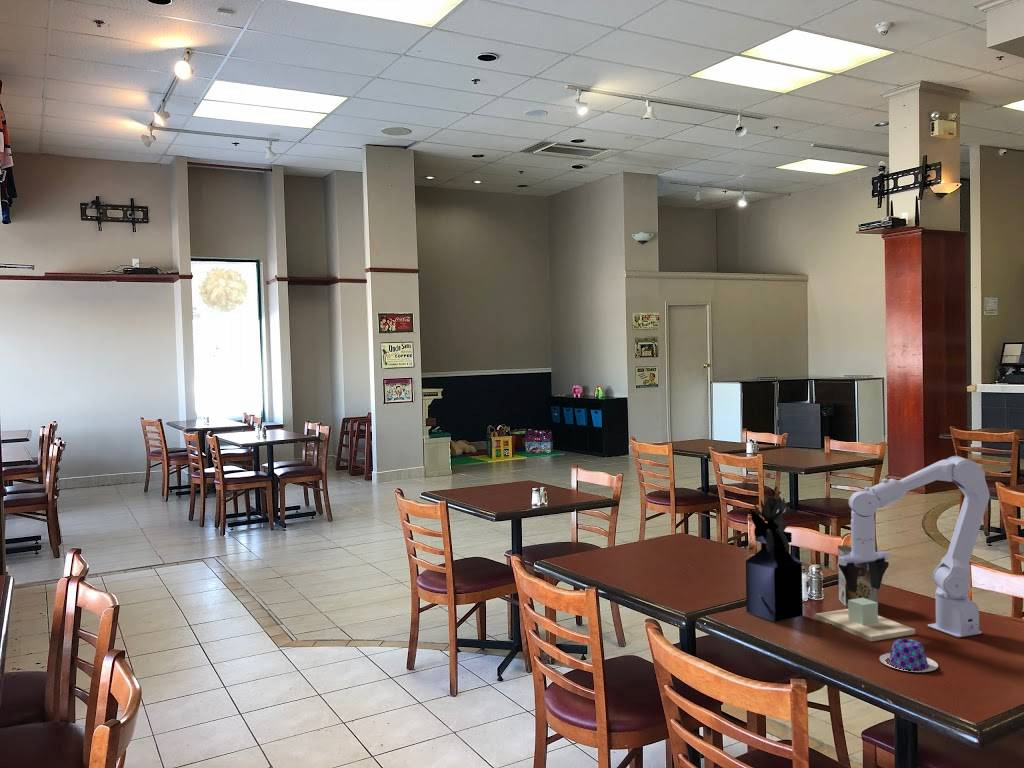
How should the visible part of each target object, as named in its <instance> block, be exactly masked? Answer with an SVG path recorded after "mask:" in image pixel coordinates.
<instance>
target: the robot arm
mask: <svg viewBox="0 0 1024 768" xmlns="http://www.w3.org/2000/svg"><path fill="white" fill-rule="evenodd" d="M985 475H986V473H985V471H984V470H983V469H982V467H981V465H979V464H978V463H977V462H976V461H974V460H971V459H967V458H964V457H962V456H960V455H953V456H950V457H948V458H946V459H945V458H944V459H941V460H938V461H936V462H934V463H932V464H930V465H928V466H925V467H924V468H922V469H920V470H918V471H916V472H915V471H914V473H911V474H909V475H907V476H906V477H904V478H901V479H899V480H898V479H895V478H889V479H888V478H886V477H885V478H883V479H881V482H880V483H878V484H875V485H873V486H870V487H868V486H867V487H864V491H861V490H858V491H855V492H853V493H852V494H851V496H850V497H849V499H848V501H847V503H848V506H849V508H850V509H851V514H850V517H851V520H850V541H851V544H850V545H851V550H852V552H850V554H848V555H845V556H841V557H838V556H837V560H838V559H839V568H840V569H841V571H842V573H843V575H844V577H845V580H846V583H847V587H848V590H849V591H851V592H854V593H855V592H856V591H857V578H858V573H859V570H860V568H859V567H855V565H854V564H855V563H863V562H868V566H869V570H870V577H871V586H872V588H875V589H878V590H880V588H881V584H882V580H883V577H884V574H885V573H886V571H887V569H888V568H889V564H890V563H889V552H886V551H882V550H881V551H877V552H875V550H876V520H875V513H876V512H877V510H878V509H881V508H884V507H886V506H889V505H891V504H893V503H896V502H898V501H900V500H903V499H904V497H905V494H906V493H907V492H909V491H912V490H914V489H916V488H919V487H922V486H925V485H928V484H930V483H933V482H936V481H942V482H953V483H954V484H956V485H957V488H958V489H960V491H961V493H962V494H963V495H964V498H963V501H962V504H961V507H960V511H959V513H958V517H957V521H956V523H955V527H954V530H953V534H952V536H951V540H950V543H949V546H948V549H947V552H946V555H944V556H943V557H942V558H941V561H940V563H939V565H938V566H937V567H936V568H935V569H934V570H933V573H932V579H933V582H934V583H935V584H936V585H937V587H936V589H935V592H934V593H935V594H934V596H935V622H934V623H929V624H927V627H929V628H931V629H934V630H937V631H939V632H942V633H945V634H947V635H950V636H953V637H956V638H963V637H969V636H974V635H975V636H976V635H980V634H982V633H983V632H982V631H981V630H980V609H979V605H978V604H977V603H976V602H975V601H973V600H972V599H970V598H969V597H968V595H969V594H968V593H969V592H970V590H971V581H970V577H971V573H972V572H971V567H970V566H971V565H970V560H971V557H972V554H973V551H974V547H975V545H976V541H977V538H978V535H979V533H980V529H981V526H982V523H983V519H984V517H985V513H986V509H987V506H988V504H989V500H990V498H991V497H990V496H991V495H990V490H989V487H988V484H987V481H986V477H985Z"/></svg>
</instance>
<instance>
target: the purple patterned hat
mask: <svg viewBox="0 0 1024 768" xmlns="http://www.w3.org/2000/svg"><path fill="white" fill-rule="evenodd" d="M887 658H889V661H890V662H889V661H888V662H889V664H890V663H891V664H892V665H894V667H893V666H891V665H889V664H887V662H886V661H885V660H886V659H887ZM879 661H880V662H881V663H882V664H884V665H886V666H888V667H890V668H893V669H897V670H900V671H905V672H909V671H908V670H905V669H910V670H911V671H910V672H913V673H926V672H927V673H928V672H932V671H936V669H938V668H939V664H938V663H937V662H936V661H935V660H933V659H931V658H929V657H927V656H926V652H925V648H924V646H923V644H922V643H921V642H919V641H918V640H916V639H910V638H897V639H896V640H894V641H893V644H892V647H891V651H890V652H887V653H884V654H881V655H880V656H879ZM896 666H898V667H899V668H902V669H899V668H898V667H897V668H895V667H896ZM903 669H904V670H903ZM920 669H921V670H922V671H921V670H920ZM913 670H919V671H913Z"/></svg>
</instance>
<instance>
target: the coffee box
mask: <svg viewBox="0 0 1024 768" xmlns="http://www.w3.org/2000/svg"><path fill="white" fill-rule="evenodd" d="M850 552H852V550H851V544H850V545H848V544H846V545H845V544H844V545H837V560H838V561H837V562H838V563H837V565H838V567H837V569H838V601H839V600H840V603H842V605H843V606H845V607H848V600H851V599H858V598H865V599H868V600H871V601H874V602H877V603H878V604H879V595H878V594H879V591H878V590H879V589H875V588H872V586H871V577H870V570H869V566H868V562H863V563H855V564H854V565H855V567H859V568H860V570H859V573H858V578H857V591H856V592H855V593H854V592H851V591H849V590H848V587H847V583H846V580H845V577H844V575H843V573H842V571H841V569H840V568H839V559H838V557H841V556H845V555H848V554H850ZM875 552H878V551H877V549H875Z"/></svg>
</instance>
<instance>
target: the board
mask: <svg viewBox="0 0 1024 768" xmlns="http://www.w3.org/2000/svg"><path fill="white" fill-rule="evenodd" d="M814 618H815V619H816V620H819V621H820V622H824V623H826V624H828V623H829V624H828V625H830V624H832V625H831V626H833V625H834V626H833V627H835V626H836V628H837V629H840V628H841V630H842V629H843V631H845V632H848V633H849V634H852V635H855V636H857V637H859V638H862V639H864V640H866V641H869V642H877V641H883V640H887V639H893V638H901V637H906V636H911V635H916V628H913V627H910V626H908V625H904V624H902V623H899V622H897V621H894V620H892V619H889V618H886V617H883V616H881V615H878V623H873V624H867V625H861V624H858V623H856V622H853V621H851V620H848V608H844V609H837V610H832V611H825V612H824V611H823V612H820V613H819V612H818V613H815V614H814Z"/></svg>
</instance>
